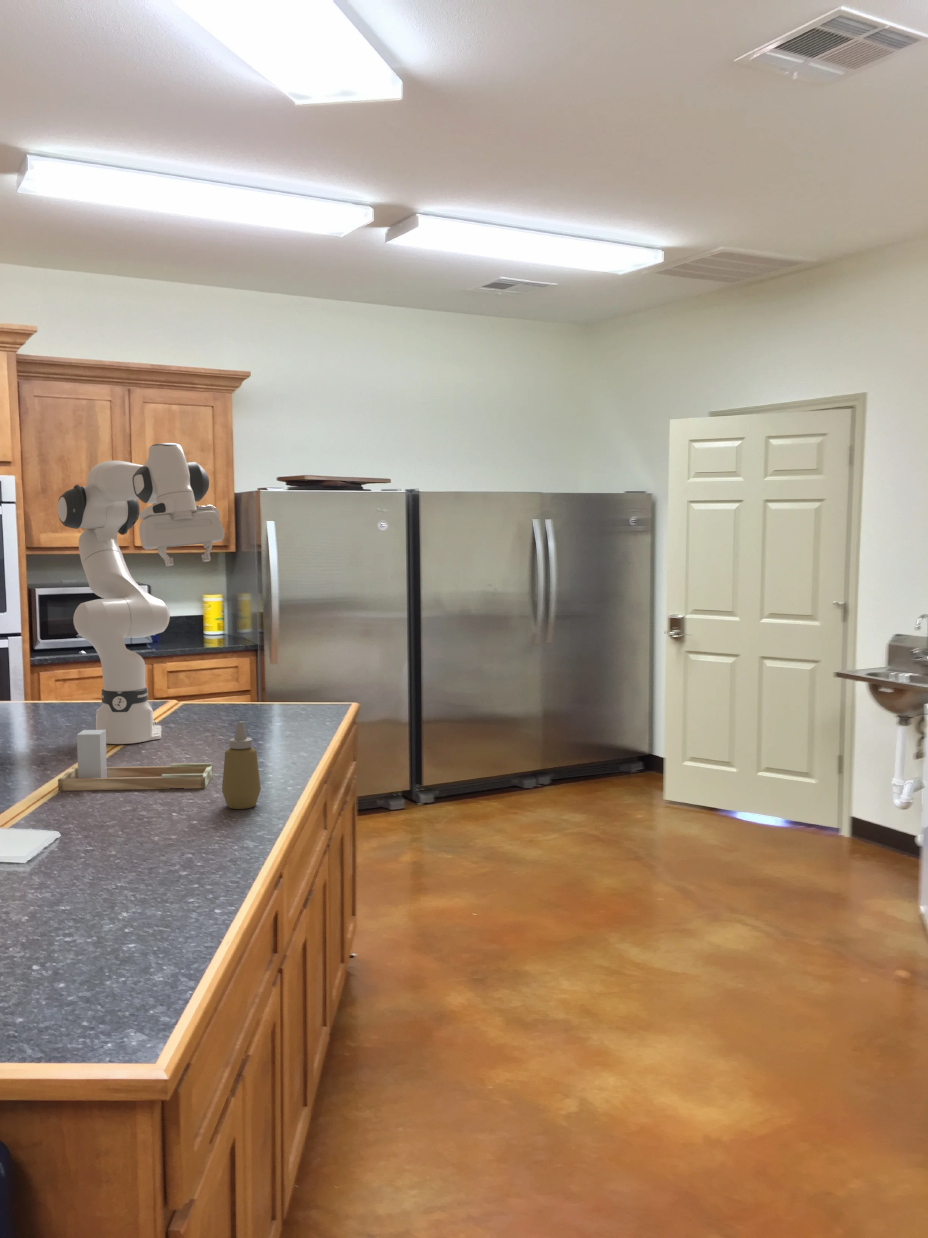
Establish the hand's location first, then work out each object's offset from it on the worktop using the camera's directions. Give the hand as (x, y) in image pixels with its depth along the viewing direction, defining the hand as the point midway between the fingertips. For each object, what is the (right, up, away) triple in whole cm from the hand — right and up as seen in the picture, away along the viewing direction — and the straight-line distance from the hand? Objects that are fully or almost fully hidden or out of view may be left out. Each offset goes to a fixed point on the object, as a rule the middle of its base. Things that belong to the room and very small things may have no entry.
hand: (188, 563), depth 241 cm
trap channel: (-8, -51, -13) cm, 53 cm away
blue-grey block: (-18, -51, -14) cm, 56 cm away
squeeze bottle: (+20, -53, -31) cm, 65 cm away
